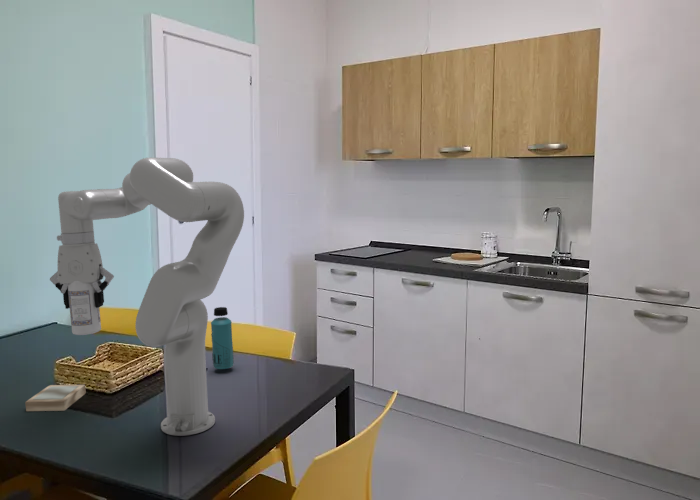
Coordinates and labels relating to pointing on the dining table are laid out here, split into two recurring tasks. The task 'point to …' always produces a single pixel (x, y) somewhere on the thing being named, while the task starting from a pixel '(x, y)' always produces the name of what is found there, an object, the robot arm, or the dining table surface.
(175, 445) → the dining table surface
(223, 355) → the beverage bottle
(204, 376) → the robot arm
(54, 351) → the dining table surface
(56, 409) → the plinth
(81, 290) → the bath foam
